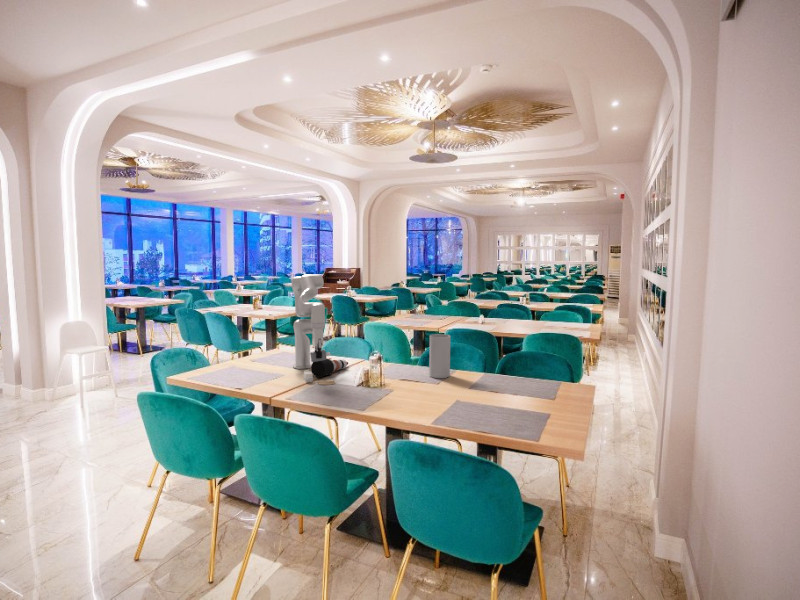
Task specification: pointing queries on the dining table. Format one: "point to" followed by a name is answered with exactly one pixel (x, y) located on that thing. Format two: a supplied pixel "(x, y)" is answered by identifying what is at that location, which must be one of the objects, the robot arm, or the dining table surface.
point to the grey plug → (314, 359)
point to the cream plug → (308, 376)
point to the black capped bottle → (327, 367)
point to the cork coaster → (326, 382)
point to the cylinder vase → (439, 356)
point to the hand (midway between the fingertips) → (318, 357)
